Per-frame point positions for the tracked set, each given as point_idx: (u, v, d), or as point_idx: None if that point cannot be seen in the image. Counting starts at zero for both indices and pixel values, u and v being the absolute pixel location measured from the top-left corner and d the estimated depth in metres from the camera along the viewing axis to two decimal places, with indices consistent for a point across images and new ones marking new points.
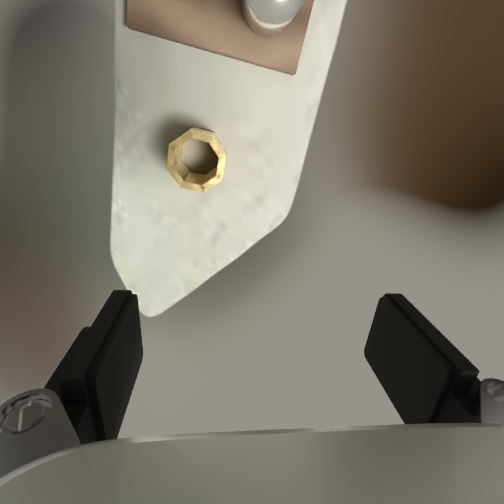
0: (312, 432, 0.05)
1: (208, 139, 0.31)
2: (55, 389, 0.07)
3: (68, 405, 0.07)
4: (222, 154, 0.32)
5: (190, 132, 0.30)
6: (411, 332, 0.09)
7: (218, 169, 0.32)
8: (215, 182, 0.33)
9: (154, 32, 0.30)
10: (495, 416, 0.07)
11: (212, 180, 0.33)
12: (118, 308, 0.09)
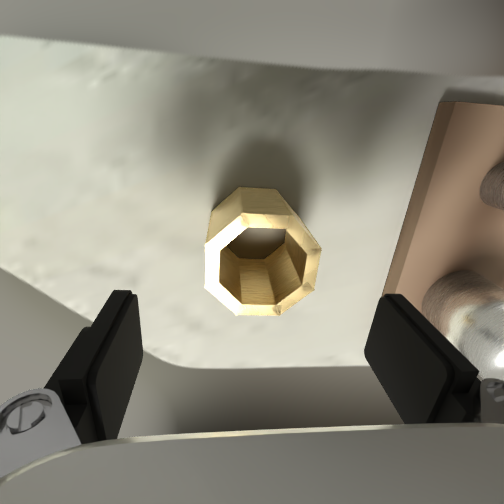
0: (312, 432, 0.05)
1: (307, 284, 0.16)
2: (55, 389, 0.07)
3: (68, 405, 0.07)
4: (283, 309, 0.17)
5: (317, 253, 0.16)
6: (411, 332, 0.09)
7: (255, 306, 0.17)
8: (229, 305, 0.17)
9: (441, 151, 0.18)
10: (495, 416, 0.07)
11: (232, 299, 0.16)
12: (118, 308, 0.09)
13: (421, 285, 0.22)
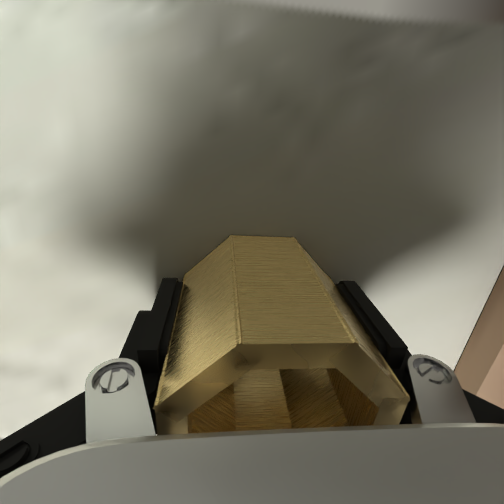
0: (312, 432, 0.05)
1: None
2: None
3: (142, 374, 0.08)
4: None
5: (401, 405, 0.07)
6: (356, 315, 0.10)
7: None
8: None
9: None
10: (426, 393, 0.07)
11: None
12: (171, 293, 0.10)
13: None
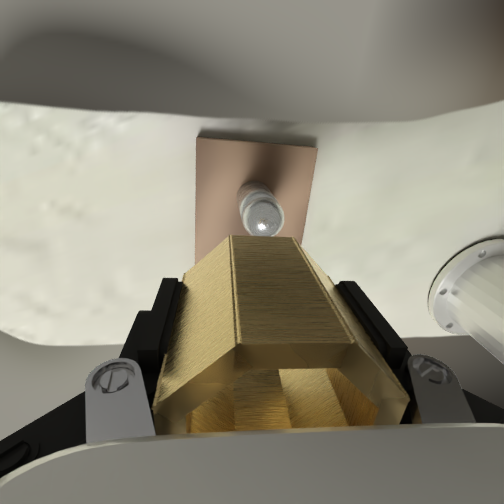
0: (312, 432, 0.05)
1: None
2: None
3: (142, 374, 0.08)
4: None
5: (400, 406, 0.07)
6: (356, 315, 0.10)
7: None
8: None
9: (197, 173, 0.24)
10: (426, 393, 0.07)
11: None
12: (171, 293, 0.10)
13: None
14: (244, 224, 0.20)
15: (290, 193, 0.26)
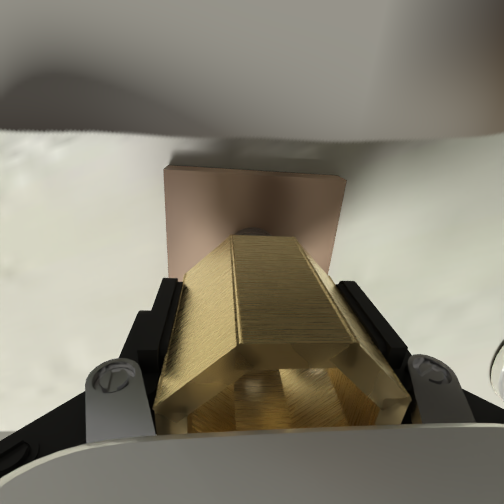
0: (312, 432, 0.05)
1: None
2: None
3: (142, 374, 0.08)
4: None
5: (402, 406, 0.07)
6: (356, 315, 0.10)
7: None
8: None
9: (167, 219, 0.17)
10: (426, 393, 0.07)
11: None
12: (171, 293, 0.10)
13: None
14: None
15: (305, 243, 0.18)
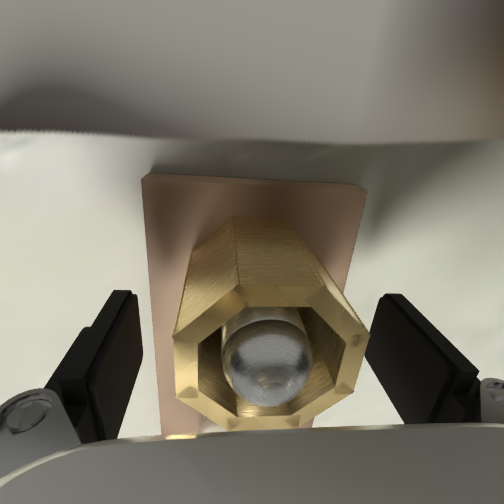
0: (312, 432, 0.05)
1: (343, 385, 0.10)
2: (55, 389, 0.07)
3: (68, 405, 0.07)
4: (303, 420, 0.11)
5: (363, 341, 0.09)
6: (411, 332, 0.09)
7: (258, 418, 0.10)
8: (216, 419, 0.10)
9: (148, 239, 0.14)
10: (495, 416, 0.07)
11: (221, 412, 0.10)
12: (118, 308, 0.09)
13: None
14: (225, 376, 0.09)
15: None
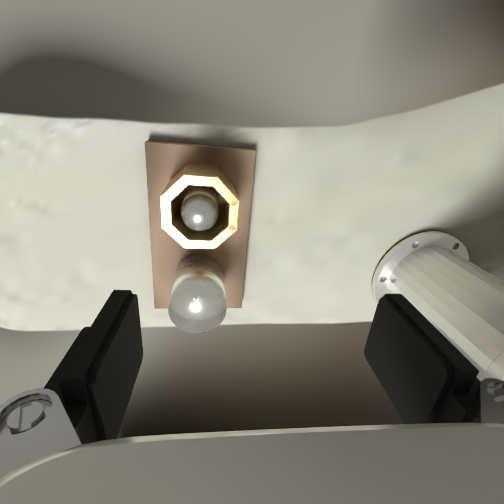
0: (312, 432, 0.05)
1: (232, 226, 0.24)
2: (55, 389, 0.07)
3: (68, 405, 0.07)
4: (217, 244, 0.25)
5: (236, 203, 0.24)
6: (411, 332, 0.09)
7: (197, 242, 0.25)
8: (179, 240, 0.24)
9: (147, 173, 0.27)
10: (495, 416, 0.07)
11: (181, 236, 0.24)
12: (118, 308, 0.09)
13: (170, 264, 0.32)
14: (182, 218, 0.24)
15: None
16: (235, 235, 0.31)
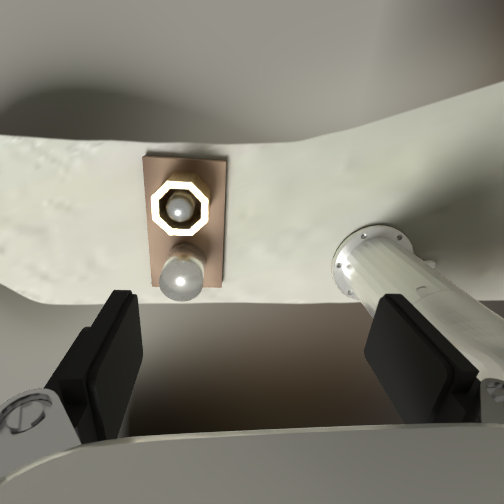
0: (312, 432, 0.05)
1: (204, 218, 0.33)
2: (55, 389, 0.07)
3: (68, 405, 0.07)
4: (193, 232, 0.34)
5: (206, 201, 0.32)
6: (411, 332, 0.09)
7: (178, 230, 0.33)
8: (165, 229, 0.33)
9: (144, 180, 0.37)
10: (495, 416, 0.07)
11: (166, 226, 0.33)
12: (118, 308, 0.09)
13: (163, 251, 0.41)
14: (167, 212, 0.32)
15: (211, 192, 0.38)
16: (213, 227, 0.40)
